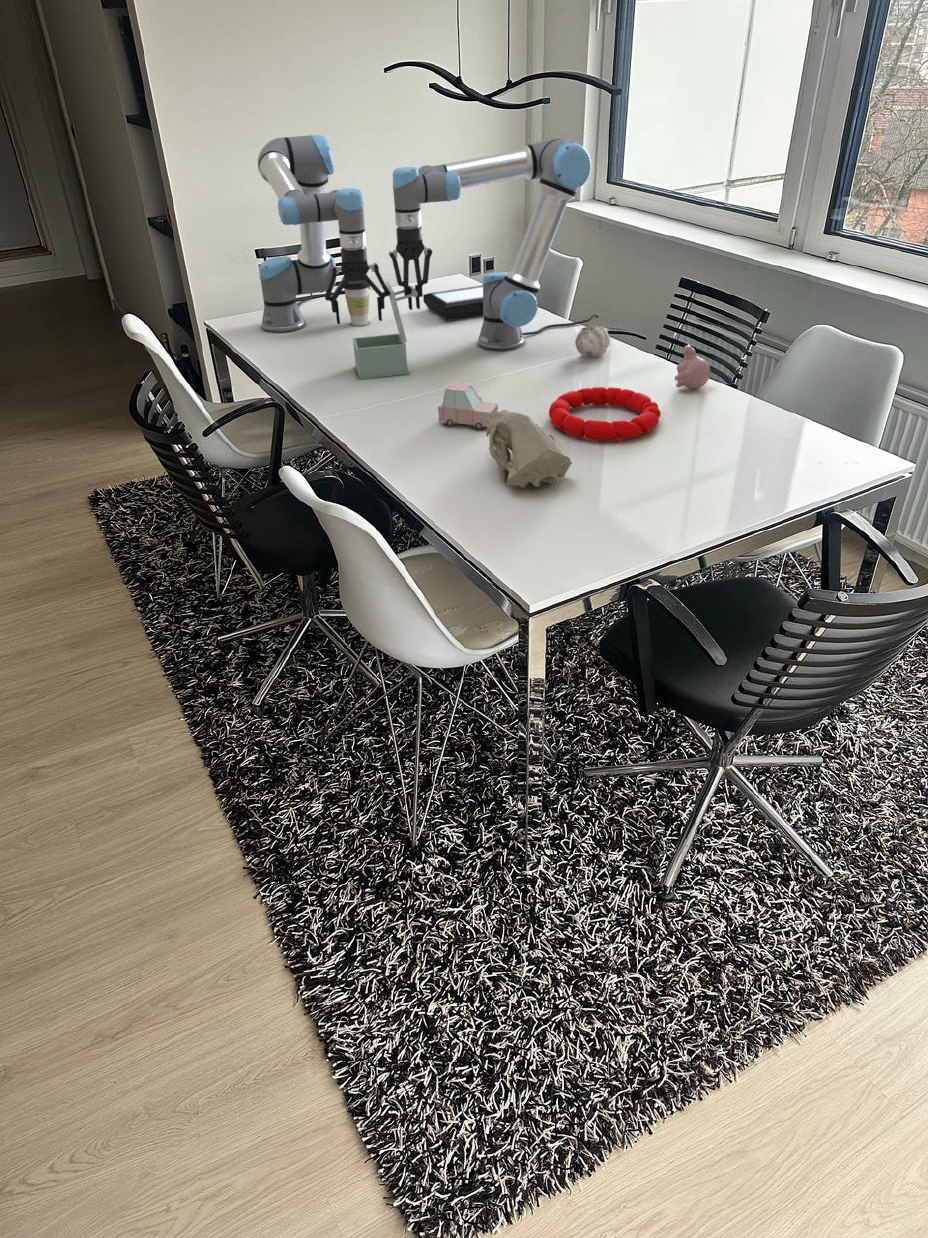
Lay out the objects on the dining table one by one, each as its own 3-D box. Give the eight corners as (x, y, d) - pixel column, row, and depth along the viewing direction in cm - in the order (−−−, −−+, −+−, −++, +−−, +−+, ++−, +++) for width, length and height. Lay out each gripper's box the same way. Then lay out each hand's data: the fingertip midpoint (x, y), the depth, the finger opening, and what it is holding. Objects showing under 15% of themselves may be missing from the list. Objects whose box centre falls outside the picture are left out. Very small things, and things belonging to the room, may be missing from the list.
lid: (390, 291, 265) (416, 284, 265) (385, 282, 275) (410, 274, 275) (403, 342, 274) (428, 335, 275) (398, 331, 284) (422, 324, 284)
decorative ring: (589, 435, 224) (684, 402, 234) (527, 398, 247) (617, 369, 256) (589, 461, 229) (683, 427, 238) (529, 422, 251) (617, 393, 260)
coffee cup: (372, 326, 323) (368, 283, 314) (345, 327, 323) (340, 284, 315) (374, 318, 331) (371, 276, 322) (348, 319, 331) (344, 277, 323)
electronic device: (443, 305, 321) (423, 292, 336) (444, 322, 324) (424, 309, 339) (522, 293, 331) (499, 281, 346) (522, 310, 334) (499, 297, 350)
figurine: (665, 387, 264) (669, 347, 257) (693, 380, 268) (698, 340, 261) (686, 396, 257) (690, 355, 250) (714, 388, 262) (720, 348, 255)
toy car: (488, 432, 240) (488, 396, 234) (436, 426, 244) (434, 390, 239) (499, 419, 247) (499, 384, 241) (448, 413, 252) (447, 379, 246)
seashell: (565, 355, 290) (566, 324, 284) (602, 347, 296) (604, 317, 290) (583, 364, 283) (584, 332, 277) (621, 355, 288) (623, 324, 283)
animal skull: (496, 517, 219) (521, 479, 201) (463, 429, 225) (484, 384, 207) (557, 503, 225) (586, 465, 206) (523, 417, 231) (549, 373, 212)
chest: (359, 379, 278) (356, 349, 272) (355, 367, 287) (352, 337, 282) (407, 373, 280) (405, 344, 275) (402, 362, 290) (400, 333, 284)
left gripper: (312, 252, 256) (320, 327, 269) (396, 247, 260) (400, 321, 273) (310, 246, 263) (318, 320, 275) (392, 241, 266) (396, 314, 279)
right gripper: (385, 230, 257) (392, 313, 271) (435, 226, 260) (440, 309, 273) (382, 225, 263) (389, 307, 277) (431, 221, 266) (435, 302, 279)
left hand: (359, 321), depth 274 cm, fingers open, 12 cm apart
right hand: (414, 307), depth 275 cm, fingers closed on lid, 2 cm apart
